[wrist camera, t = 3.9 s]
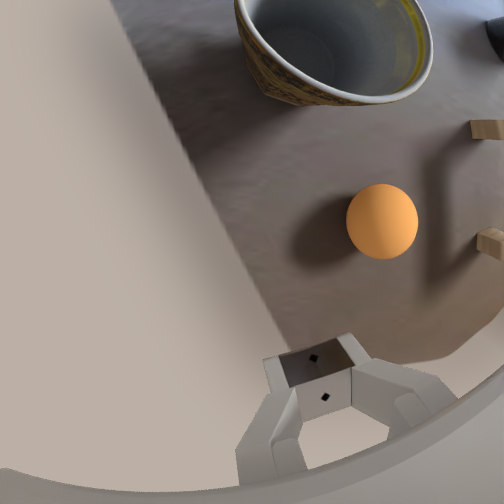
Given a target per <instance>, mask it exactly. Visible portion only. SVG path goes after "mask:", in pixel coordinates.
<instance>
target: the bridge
mask: <svg viewBox="0 0 504 504" xmlns="http://www.w3.org/2000/svg"><path fill="white" fill-rule="evenodd" d="M470 125H471V131H472V137H473V139H491V140H504V120H470ZM477 250H479V251H481V252H484V253H486V254H488V255H490V256H492V257H494V258H496V259H498V260H500V261H502V262H504V232H502V231H499V230H496V229H494V228H491V227H490V228H488V229H486V230H483V231H481V232H478V233H477Z"/></svg>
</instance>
